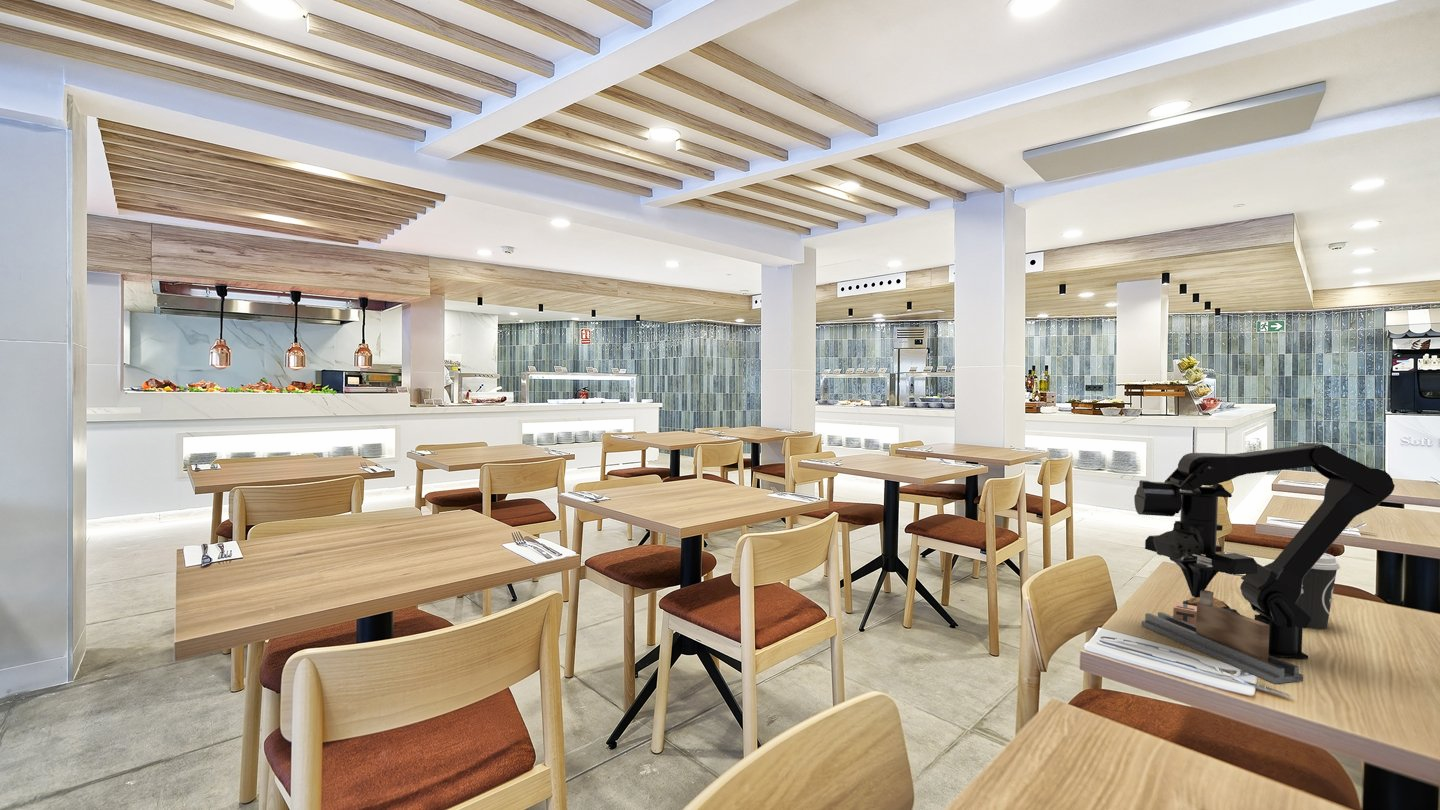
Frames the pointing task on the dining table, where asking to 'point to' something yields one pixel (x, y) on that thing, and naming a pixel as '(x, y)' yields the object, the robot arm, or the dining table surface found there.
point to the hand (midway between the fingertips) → (1195, 596)
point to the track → (1222, 649)
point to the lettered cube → (1185, 612)
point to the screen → (1231, 628)
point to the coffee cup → (1318, 591)
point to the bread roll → (1215, 602)
